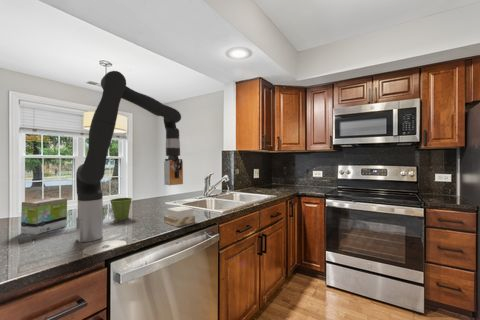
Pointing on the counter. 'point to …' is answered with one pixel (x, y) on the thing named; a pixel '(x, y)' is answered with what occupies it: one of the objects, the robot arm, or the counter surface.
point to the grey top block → (180, 212)
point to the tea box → (43, 215)
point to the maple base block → (179, 220)
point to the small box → (172, 174)
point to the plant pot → (121, 207)
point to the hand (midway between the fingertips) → (173, 177)
